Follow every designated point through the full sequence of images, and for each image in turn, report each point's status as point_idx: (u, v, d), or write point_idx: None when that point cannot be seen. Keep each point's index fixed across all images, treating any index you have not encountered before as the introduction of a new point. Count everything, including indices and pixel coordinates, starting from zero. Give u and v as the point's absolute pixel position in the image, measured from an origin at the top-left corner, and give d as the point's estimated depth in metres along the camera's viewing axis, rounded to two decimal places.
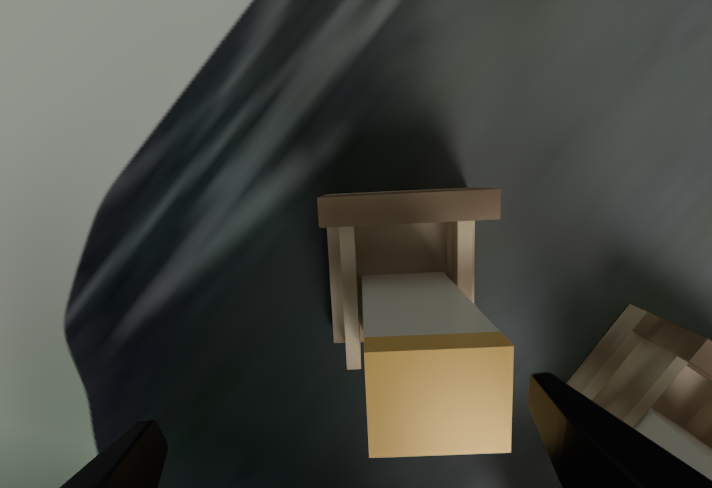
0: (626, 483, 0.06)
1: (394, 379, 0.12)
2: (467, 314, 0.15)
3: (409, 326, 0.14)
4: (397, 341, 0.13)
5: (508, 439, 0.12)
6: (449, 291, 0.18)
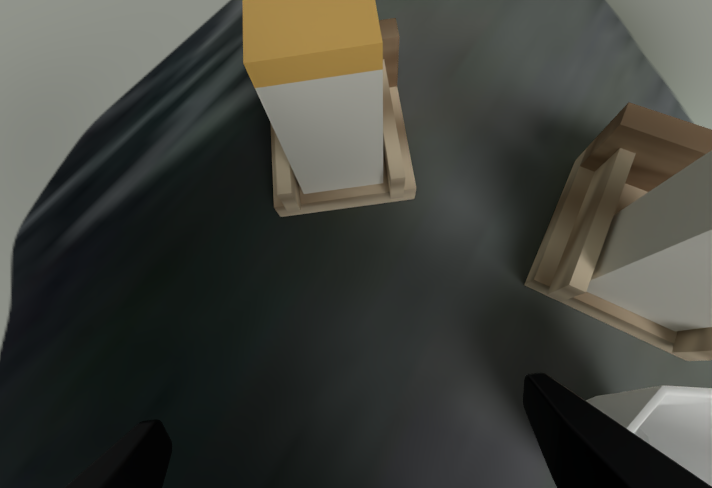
0: (619, 484, 0.06)
1: None
2: None
3: None
4: None
5: (377, 30, 0.13)
6: None
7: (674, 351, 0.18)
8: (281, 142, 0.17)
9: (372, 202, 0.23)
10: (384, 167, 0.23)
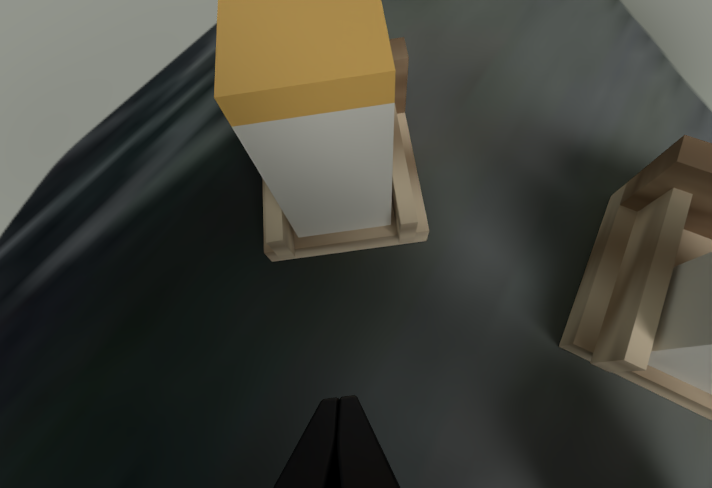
0: None
1: (249, 16, 0.11)
2: None
3: None
4: None
5: (388, 55, 0.10)
6: None
7: None
8: (269, 186, 0.14)
9: (378, 245, 0.20)
10: (391, 206, 0.20)
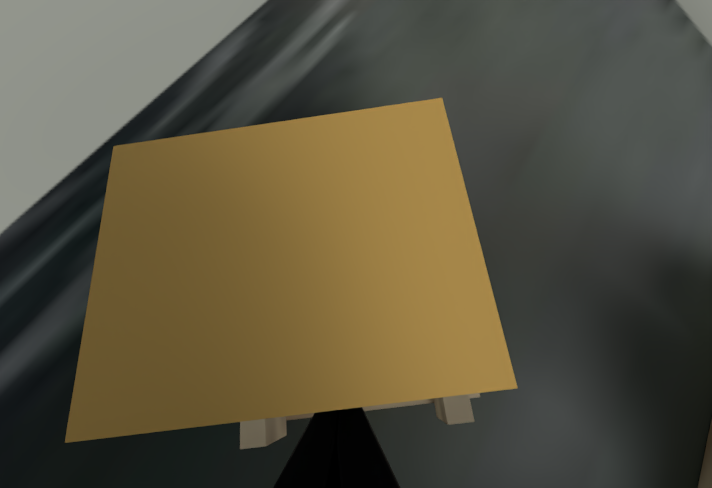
0: None
1: (172, 196, 0.05)
2: None
3: None
4: None
5: (494, 336, 0.04)
6: None
7: None
8: None
9: None
10: None
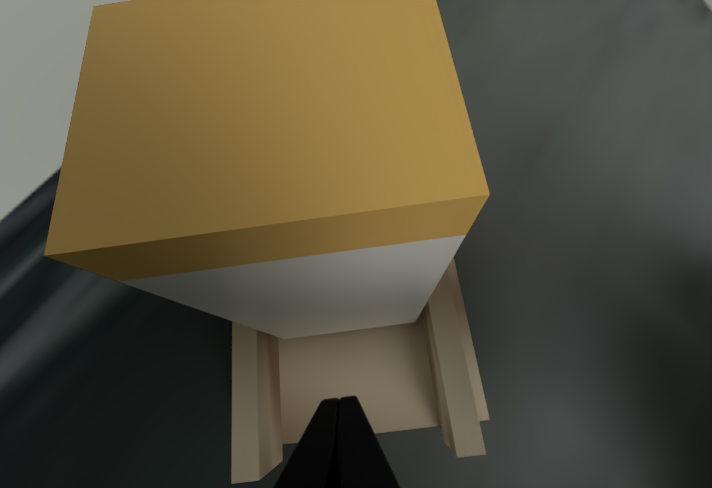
0: None
1: (151, 46, 0.05)
2: None
3: None
4: None
5: (468, 151, 0.04)
6: None
7: None
8: (226, 317, 0.09)
9: None
10: (430, 373, 0.13)
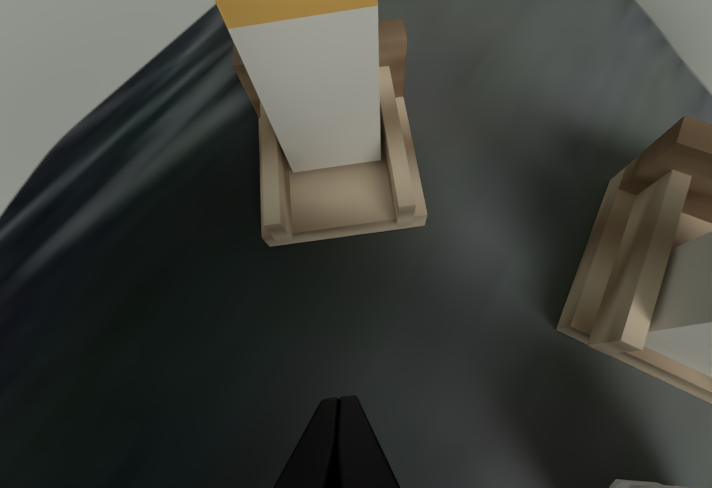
0: None
1: None
2: None
3: None
4: None
5: None
6: None
7: None
8: (264, 104, 0.15)
9: (376, 229, 0.20)
10: (389, 190, 0.20)
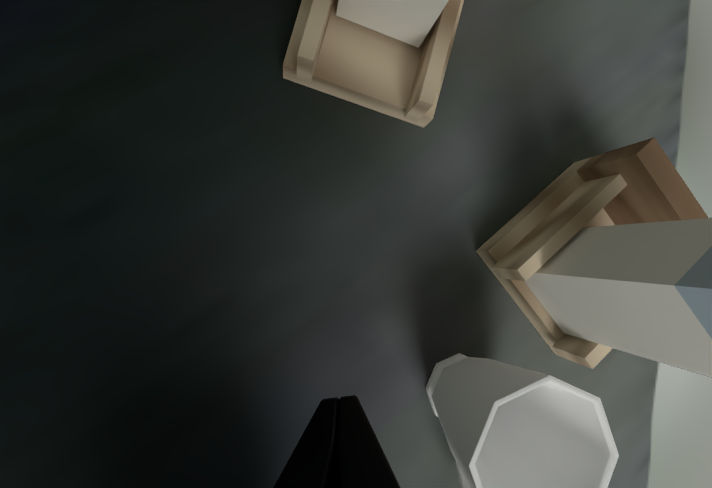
0: None
1: None
2: None
3: None
4: None
5: None
6: None
7: (554, 346, 0.22)
8: None
9: (383, 110, 0.22)
10: (413, 80, 0.21)
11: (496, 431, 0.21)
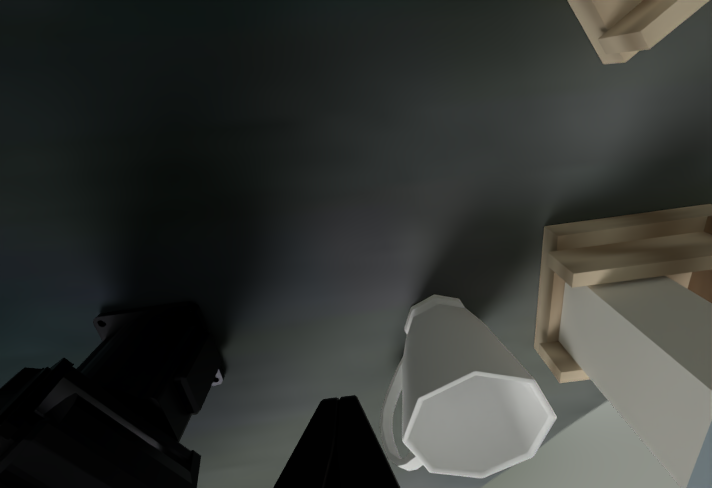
0: None
1: None
2: None
3: None
4: None
5: None
6: None
7: (541, 344, 0.22)
8: None
9: (580, 13, 0.16)
10: None
11: None
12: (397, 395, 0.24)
